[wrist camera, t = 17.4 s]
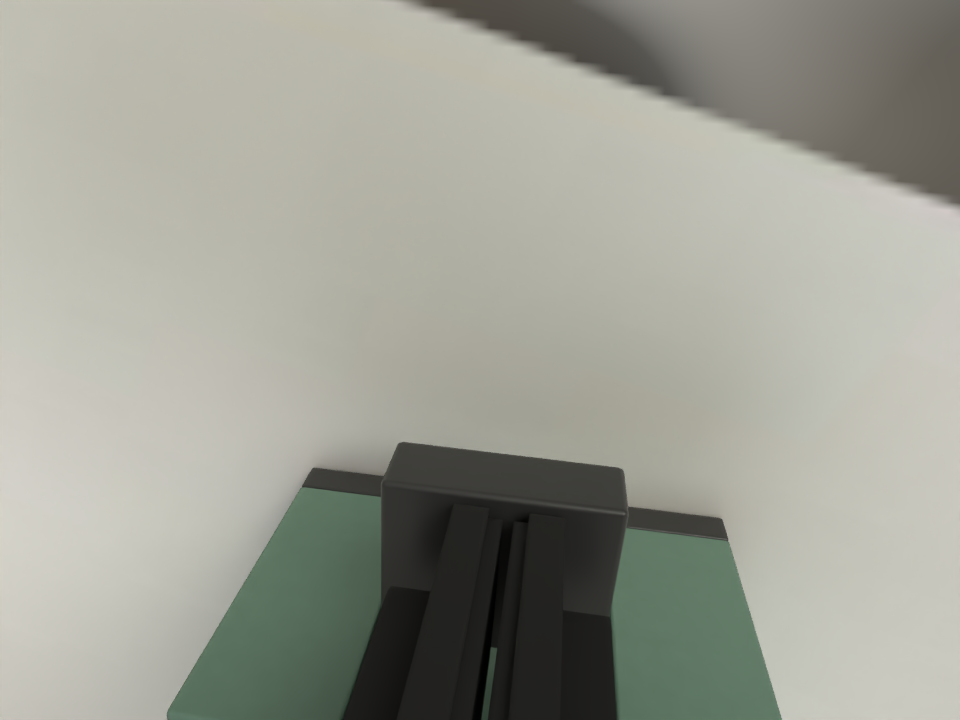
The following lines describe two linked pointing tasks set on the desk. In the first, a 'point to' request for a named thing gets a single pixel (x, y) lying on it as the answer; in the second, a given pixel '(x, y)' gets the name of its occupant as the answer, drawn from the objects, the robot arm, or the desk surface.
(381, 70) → the desk surface
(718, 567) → the toaster
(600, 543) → the dark grey slab
